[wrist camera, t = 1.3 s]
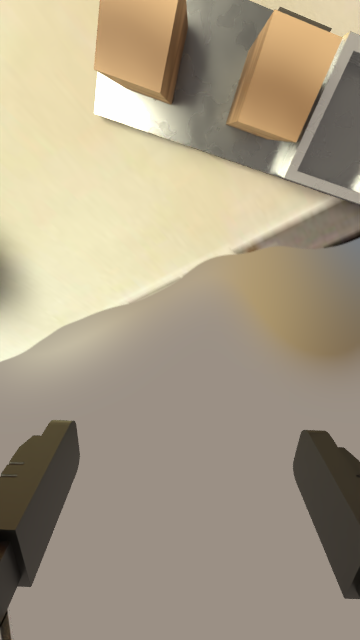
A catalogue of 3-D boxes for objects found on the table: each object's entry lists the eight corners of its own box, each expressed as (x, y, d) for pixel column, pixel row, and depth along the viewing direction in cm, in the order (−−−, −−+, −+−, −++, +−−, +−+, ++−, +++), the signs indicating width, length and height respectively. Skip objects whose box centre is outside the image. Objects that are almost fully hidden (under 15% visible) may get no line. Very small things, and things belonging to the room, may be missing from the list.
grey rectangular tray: (114, -47, 21) (99, -81, 17) (430, 84, 24) (468, 76, 21) (98, 114, 26) (84, 112, 23) (357, 203, 29) (378, 212, 26)
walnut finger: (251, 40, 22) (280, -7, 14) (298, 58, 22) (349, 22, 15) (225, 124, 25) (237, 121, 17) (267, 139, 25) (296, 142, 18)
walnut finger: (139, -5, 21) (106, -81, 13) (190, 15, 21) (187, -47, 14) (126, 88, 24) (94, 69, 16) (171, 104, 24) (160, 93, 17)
